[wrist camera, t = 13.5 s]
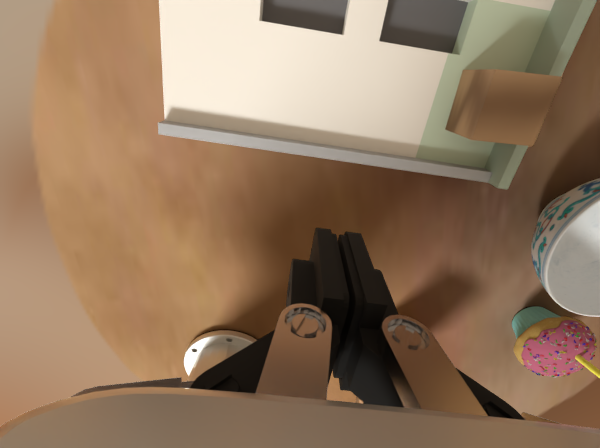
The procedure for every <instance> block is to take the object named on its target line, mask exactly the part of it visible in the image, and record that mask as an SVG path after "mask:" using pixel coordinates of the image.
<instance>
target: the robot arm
mask: <svg viewBox="0 0 600 448" xmlns="http://www.w3.org/2000/svg"><path fill="white" fill-rule="evenodd" d="M184 367H185V370H186V372H187V374H188V375H189V377H188V379H187V382H182V380H181V378H171V379H162V380H153V381H143V382H134V383H125V384H115V385H106V386H97V387H93V388H89V389H85V390H83V391H81V392H79V393H77V394H75V395H73V396H71V397H70V398H66V399H62V400H59V401H56V402H53V403H49V404H46V405H43V406H41V407H38V408H36V409H33V410H31V411H28V412H25V413H23V414H21V415H19V416H18V417H16V418H14V419H12V420H10V421H8V422H6V423H4V424H3V425H1V426H0V448H600V429H595V428H588V427H580V426H572V425H564V424H560V423H557V422H554V421H550V420H547V419H544V418H541V417H537V416H534V415H531V414H528V413H525V412H523V413H522V414H521V415H520V414H519V413H518V412H517V411H516V410H515V409H514V408H513V407H511V406H510V405H509V404H508V403H506V402H505V401H503V400H502V399H501V398H499V397H498V396H496V395H495V394H493V393H492V392H490V391H489V390H487V389H486V388H484V387H483V386H481V385H480V384H479V383H477V382H476V381H474V380H473V379H471V378H470V377H468V376H467V375H465V374H464V373H462V372H461V371H460V370H458V369H457V368H455V367H454V365H453V364H452V362H451V361H450V359H449V358H448V356H447V355H446V353H445V352H444V350H443V349H442V347H441V346H440V344H439V343H438V341H437V340H436V339H435V337H434V336H433V334H432V333H431V332H430V331H429V329H428V328H427V327H426V326H424V325H423V324H422V323H421V322H419V321H417V320H415V319H413V318H411V317H408V316H404V315H399V314H398V312H397V309H396V307H395V304H394V302H393V299H392V297H391V294H390V292H389V290H388V287H387V285H386V282H385V280H384V277H383V275H382V272H381V271H380V270H377V269H374V267H373V265H372V262H371V259H370V257H369V254H368V251H367V249H366V246H365V243H364V240H363V238H362V235H361V234H360V233H352V232H345V234H344V235H339V238H338V241H337V236H336V234H332V232H331V230H330V229H322V228H316V229H315V234H314V239H313V244H312V249H311V255H310V260H309V261H306V260H298V259H292V263H291V269H290V275H289V282H288V290H287V301H286V308H285V309H284V310H283V311H282V312H281V314H280V316H279V319H278V322H277V325H276V329H275V330H274V331H272V332H270V333H269V334H267V335H265V336H264V337H262V338H260V339H259V340H256V339H255V338H253V337H251V336H249V335H247V334H244V333H240V332H237V331H230V330H219V331H212V332H208V333H205V334H203V335H201V336H199V337H197V338H196V339H195V340H193V341H192V342H191V344H190V345H189V346H188V349H187V351H186V353H185V357H184ZM332 369H333V376H334V378H339V383H340V390H347V391H352V392H353V393H354V394H355V395H356V396H357V398H356V403H351V402H341V401H330V400H326V398H327V387H328V383H329V380H330V376H331V373H332Z"/></svg>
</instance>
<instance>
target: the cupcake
mask: <svg viewBox="0 0 600 448" xmlns="http://www.w3.org/2000/svg"><path fill="white" fill-rule="evenodd" d="M512 327H513V329H514V332H515V335H516V338H517V340H516V343H515V346H514V353H515V355H516V356H517V359H518V360H519V361H520V363H522V364H523V365H524V366H525V367H527V368H528V370H531V371H532V372H535V373H536V374H537V373H538V374H537V375H540V374H541V375H542V376H544V375H546V376H552V377H554V376H556V377H557V376H565V375H569V374H571V373H573V372H576V371H579V370H582V369H583V367H586V368H587V369H589V370H590V371H591V372H592V373H594V374H595V375H596V376H597V377H599V378H600V370H599V369H597V368H596V367H595V366H593V365H592V364H591V363H590V361H591V359H592V358H593V357H594V356H595V355H594V353H595V350H596V348H597V347H596V339H595V334H594V333H592V331H591V330H590V329H589V328H588V327H587V326H586V325H585V324H584V323H583V322H582V321H580V320H578V319H573V318H571V317H568V316H563V317H561V316H559V315H557V314H554V313H553V312H551V311H549V310H547V309H545V308H543V307H539V306H534V307H528V308H526V309H523V310H521V311H520V312H519V313H517V314H516V315H515V317H514V318H513V320H512Z"/></svg>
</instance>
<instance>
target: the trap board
mask: <svg viewBox="0 0 600 448" xmlns="http://www.w3.org/2000/svg"><path fill="white" fill-rule="evenodd" d="M596 1H597V0H159V10H160V31H161V52H162V73H163V94H164V115H165V120H164V121H161V122H159V123H158V133H159V134H160V135H167V136H174V137H181V138H188V139H194V140H201V141H208V142H215V143H222V144H228V145H235V146H242V147H249V148H256V149H262V150H269V151H276V152H283V153H290V154H296V155H303V156H310V157H317V158H324V159H330V160H337V161H344V162H351V163H358V164H364V165H371V166H378V167H385V168H392V169H398V170H405V171H412V172H419V173H426V174H432V175H439V176H446V177H453V178H460V179H466V180H473V181H480V182H487V183H490V184H491V185H493V186H495V187H496V188H500V189H507V190H508V188H509V186H510V184H511V181H512V179H513V177H514V175H515V173H516V171H517V169H518V167H519V164H520V162H521V160H522V158H523V156H524V154H525V152H526V150H527V148H528V146H524V145H514V144H505V143H495V142H485V141H476V140H470V139H468V138H465V137H463V136H460V135H458V134H455V133H453V132H450V131H448V130H445V128H446V125H447V121H448V118H449V115H450V111H451V108H452V105H453V101H454V98H455V95H456V91H457V88H458V85H459V81H460V78H461V75H462V71H463V70H478V69H499V70H507V71H516V72H525V73H534V74H543V75H551V76H560V77H561V76H562V73H563V71H564V69H565V67H566V65H567V63H568V61H569V59H570V56H571V54H572V52H573V50H574V48H575V46H576V44H577V42H578V40H579V37H580V35H581V33H582V31H583V29H584V27H585V25H586V23H587V20H588V18H589V16H590V14H591V12H592V10H593V8H594V6H595V4H596Z"/></svg>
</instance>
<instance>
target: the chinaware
mask: <svg viewBox="0 0 600 448" xmlns="http://www.w3.org/2000/svg"><path fill="white" fill-rule="evenodd" d="M531 253H532V260H533V264H534V268H535V270H536V273H537V275H538V277H539V279H540V281H541V283H542V285H543V286H544V288H545V289H546V291H547V292H548V294H549V295H550V296H551V298H552V299H553V300H554V301H555V302H556V303H557V304H558V305H560V306H561V307H563V308H564V309H566V310H568V311H570V312H573V313H576V314H580V315H584V316H594V317H600V178H598V179H595V180H592V181H589V182H587V183H584V184H582V185H580V186H578V187H576V188H574V189H572V190H570V191H569V192H567V193H565V194H563V195H561V196H559V197H557V198H555V199H554V200H553V201H551V202H550V203H549V204H548V205H547V206H546V207H545V208H544V210H543V211H542V213H541V214H540V216H539V219H538V222H537V225H536V228H535V230H534V234H533V238H532V245H531Z"/></svg>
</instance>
